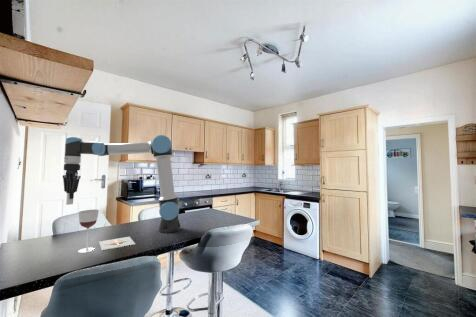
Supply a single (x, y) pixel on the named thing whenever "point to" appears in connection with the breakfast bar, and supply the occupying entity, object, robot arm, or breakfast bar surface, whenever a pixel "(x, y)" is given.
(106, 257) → the breakfast bar surface
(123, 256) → the breakfast bar surface
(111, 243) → the mat
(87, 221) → the wineglass
